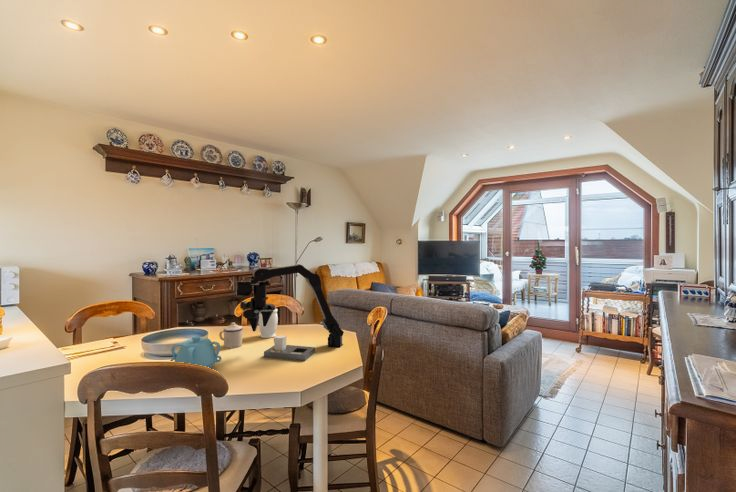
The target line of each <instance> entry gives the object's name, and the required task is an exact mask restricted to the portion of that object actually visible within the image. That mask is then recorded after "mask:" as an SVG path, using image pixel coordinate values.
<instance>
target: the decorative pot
mask: <svg viewBox="0 0 736 492" xmlns="http://www.w3.org/2000/svg"><path fill="white" fill-rule="evenodd" d="M214 345H215V346H216V347H217V350H216V348H215V347H214ZM177 347H179V349H178V351H177V353H176V352H175V348H177ZM170 350H171V351H170V352H171V354H172V357H173V358H171V359H170V361H173V362H184V363H191V364H197V365H202V366H206V367H209V368H210V369H211V368H213V366H214V365H215V363H220V362H221V361H222V356H221V355H219V354H220V352H221V344H220V343H219V342H218V341H211V340H210V338H205V337H201V336H200V335H197V336H196V335H195V336H192V337H191V339H190V338H189V339H187V340H184V341H183V342H181V343H180V342H178V343H175V344H173V345H172V347H171V349H170ZM170 361H169V362H170Z"/></svg>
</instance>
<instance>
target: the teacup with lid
mask: <svg viewBox="0 0 736 492" xmlns="http://www.w3.org/2000/svg"><path fill="white" fill-rule="evenodd" d="M243 329H244V328H243V326H242V325H238V324H237V323H236V322H230V324H229V325H228V326H225V327H224V328H223V330H221V331H220V332H219V339H220V341H223V347H224V348H225V349H235V348H239V347H242V345H243ZM222 333H223V336H222Z"/></svg>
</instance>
